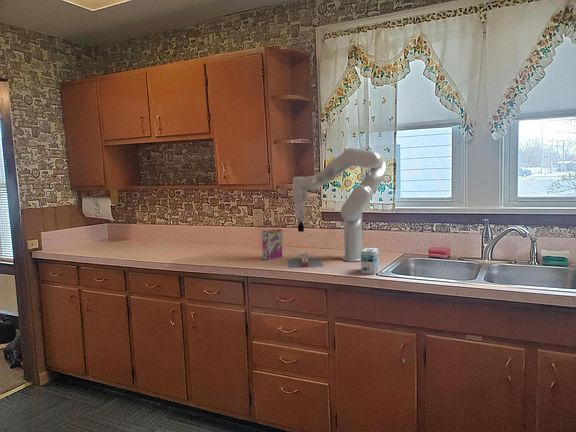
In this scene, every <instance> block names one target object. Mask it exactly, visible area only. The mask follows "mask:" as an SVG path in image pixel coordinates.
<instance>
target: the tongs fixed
mask: <svg viewBox="0 0 576 432" xmlns="http://www.w3.org/2000/svg"><path fill="white" fill-rule="evenodd" d="M303 257H304V256H303ZM304 260H305V264H306V267H305V268H310V267H309V262H308V260H307V257H306V256H305V257H304Z"/></svg>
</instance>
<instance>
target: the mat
mask: <svg viewBox="0 0 576 432" xmlns="http://www.w3.org/2000/svg"><path fill="white" fill-rule="evenodd" d="M286 260H287V267H288V269H296V268H297V269H298V268H304V267H303V265H302V260H301V259H299V257H298V258H297V257H296V258H287V259H286ZM307 260H308V262H309V267H308V268H319V267H320V268H321V267H325V266H324V264H323V262H322V260H321V258H320V257H308V259H307ZM305 265H306V264H305Z"/></svg>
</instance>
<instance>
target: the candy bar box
mask: <svg viewBox="0 0 576 432" xmlns="http://www.w3.org/2000/svg"><path fill="white" fill-rule="evenodd" d="M282 234H283V231H282V229H279V228H272V229H265V230H262V231H261V249H262V252H261V254H262V260H264V261H268V260H273V259H277V258H282V257H283V235H282Z"/></svg>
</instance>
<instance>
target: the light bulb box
mask: <svg viewBox="0 0 576 432" xmlns="http://www.w3.org/2000/svg"><path fill="white" fill-rule="evenodd" d="M379 254H380V253H379V248H378V247H376V248H375V247H365V248H362V251H361V261H360V262H361V263H360V264H361V265H360V266H361V272H360V273H361V274H368V275H370V274H371V275H376V273H377V272H379V270H380V259H379V258H380V255H379Z"/></svg>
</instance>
